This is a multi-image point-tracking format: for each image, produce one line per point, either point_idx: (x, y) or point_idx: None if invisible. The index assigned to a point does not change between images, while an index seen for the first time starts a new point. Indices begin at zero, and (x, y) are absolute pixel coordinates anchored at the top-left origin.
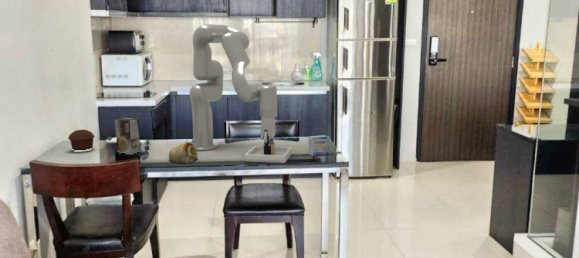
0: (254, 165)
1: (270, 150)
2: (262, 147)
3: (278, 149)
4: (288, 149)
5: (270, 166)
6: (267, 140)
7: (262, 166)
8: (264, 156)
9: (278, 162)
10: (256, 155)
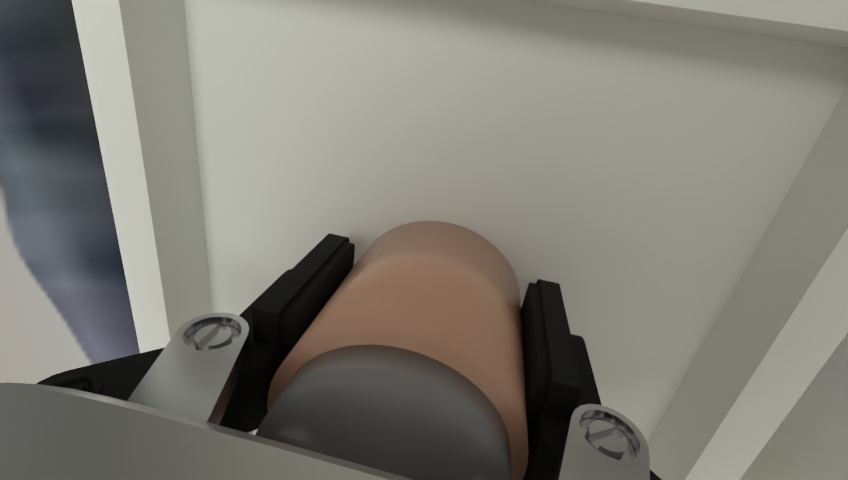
0: (22, 102)
1: None
2: (845, 212)
3: (674, 445)
4: None
5: (59, 276)
6: (465, 470)
7: (25, 198)
8: (134, 248)
9: None
10: (103, 129)
